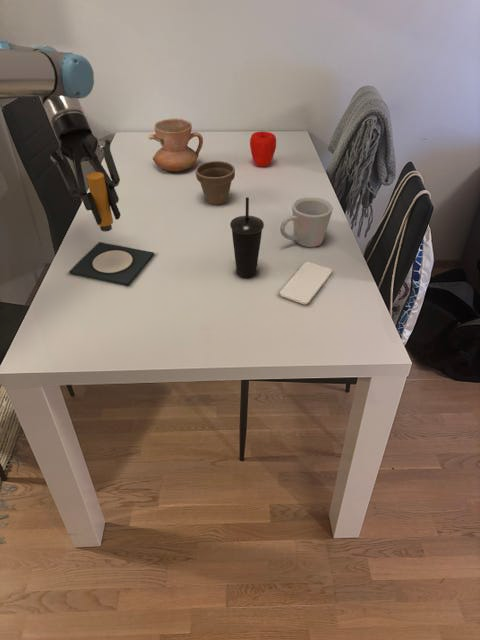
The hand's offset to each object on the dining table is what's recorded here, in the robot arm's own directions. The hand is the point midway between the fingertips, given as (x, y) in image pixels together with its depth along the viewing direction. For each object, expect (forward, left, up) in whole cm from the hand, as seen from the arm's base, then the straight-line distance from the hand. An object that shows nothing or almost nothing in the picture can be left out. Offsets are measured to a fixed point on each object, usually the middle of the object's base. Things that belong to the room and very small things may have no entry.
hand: (108, 219), depth 105 cm
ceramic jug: (-13, +64, -16) cm, 67 cm away
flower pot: (+8, +45, -16) cm, 48 cm away
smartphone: (+43, +12, -16) cm, 48 cm away
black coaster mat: (-5, +5, -16) cm, 17 cm away
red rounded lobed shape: (+14, +75, -16) cm, 78 cm away
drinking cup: (+28, +12, -16) cm, 35 cm away
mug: (+38, +30, -16) cm, 51 cm away
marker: (-3, +2, -4) cm, 6 cm away
